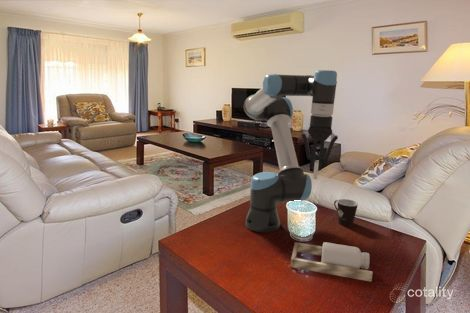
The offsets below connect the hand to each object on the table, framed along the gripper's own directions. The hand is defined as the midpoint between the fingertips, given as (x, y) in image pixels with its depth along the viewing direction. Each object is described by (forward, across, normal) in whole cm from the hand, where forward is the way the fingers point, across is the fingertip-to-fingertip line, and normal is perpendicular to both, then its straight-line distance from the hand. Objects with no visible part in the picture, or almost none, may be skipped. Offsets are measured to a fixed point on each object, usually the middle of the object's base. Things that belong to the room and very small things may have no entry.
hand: (315, 177), depth 117 cm
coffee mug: (+28, +15, +25) cm, 40 cm away
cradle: (+26, +8, -14) cm, 31 cm away
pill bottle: (+22, +5, -15) cm, 27 cm away
